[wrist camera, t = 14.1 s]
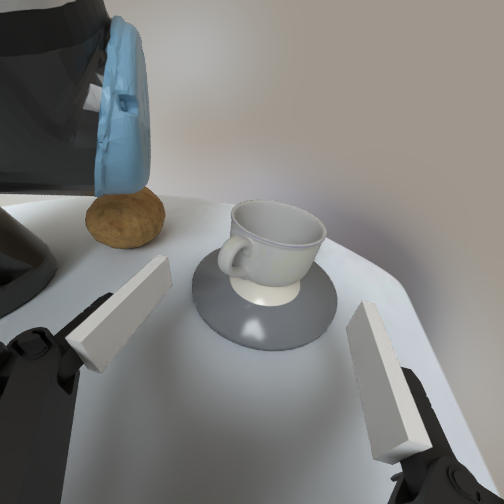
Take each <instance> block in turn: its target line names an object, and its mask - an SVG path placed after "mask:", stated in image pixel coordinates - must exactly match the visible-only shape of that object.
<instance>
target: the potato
mask: <svg viewBox="0 0 504 504" xmlns="http://www.w3.org/2000/svg"><path fill="white" fill-rule="evenodd" d="M164 219H165V210H164V206H163V203H162V202H161V201H160V199H159V198H158V197H157V196H156V195H155V194H154V193H153V192H152V191H151V190H149V189H148V188H147V187H144V188H143V189H142V190H140V191H138V192H137V193H133V194H116V195H104V196H102V197H98V198H97V199H96V200H95V201H94V202H93V204H92V205H91V206H90V208H89V209H88V210H87V212H86V219H85V224H86V227H87V229H88V230H89V232H90V233H91V234H92V236H93V237H94V238H95V239H96V241H98V242H101V243H103V244H105V245H108V246H110V247H112V248H120V249H127V248H134V247H140V246H142V245H143V244H145V243H147V242H149V241H150V240H152V239H153V238H155V237H156V236H157V235H158V234H159V232H160V231H161V229H162V226H163V223H164Z"/></svg>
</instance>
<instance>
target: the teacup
mask: <svg viewBox="0 0 504 504" xmlns="http://www.w3.org/2000/svg"><path fill="white" fill-rule="evenodd" d="M231 219H232V222H231V231H230V238H229V239H228V240H227V241H226V242H225V243H224V244H223V246H222V248H221V250H220V252H219V255H218V266H219V268H220V269H221V271H222V272H224V273H225V274H226V275H228V276H230V277H234V278H241V279H243V280H246V279H249V280H250V281H252V282H254V283H256V284H259V285H262V286H267V287H284V286H289V285H292V284H294V283H296V282H298V281H299V280H301V279H302V278H303V277H304V276H305V275H306V273H307V272H308V270H309V269H310V267H311V265H312V263H313V261H314V259H315V257H316V255H317V252H318V250H319V248H320V246H321V243H322V242H323V241H324V240H325V237H326V234H327V233H326V228H325V226H324V224H323V223H322V222H321V221H320V220H319V219H318V218H316V217H315V216H313V215H312V214H310V213H308V212H307V211H305V210H303V209H301V208H298V207H295V206H293V205H289V204H286V203H281V202H277V201H270V200H250V201H245V202H242V203H240V204H237V205H236V206H235V207H234V208H233V209H232V212H231ZM232 263H233V265H234V266H235V267H232Z"/></svg>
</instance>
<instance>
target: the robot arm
mask: <svg viewBox="0 0 504 504" xmlns="http://www.w3.org/2000/svg"><path fill="white" fill-rule="evenodd" d="M141 42H142V41H141V37H140V34H139V32H138V31H137V29H136V28H135V27H134V26H133V25H132V24H130V23H127V22H125V21H124V19H123V18H122V17H121V16H114V17H113V18H110V17H109V15H108V13H107V11H106V8H105V5H104V1H103V0H0V194H33V195H34V194H35V195H70V196H71V195H72V196H95V197H102V196H104V195H116V194H133V193H137V192H138V191H140V190H142V189H143V188H144V187H145V186H146V184H147V183H148V180H149V175H150V158H151V150H150V147H151V145H150V115H149V99H148V98H149V97H148V85H147V74H146V65H145V58H144V53H143V50H142V43H141ZM56 268H57V263H56V260H55V258H54V257H53V255H52V253H51V251H50V250H49V248H48V246H47V245H46V244H45V243H44V242H43V241H42V240H40V239H39V238H38V237H37V236H36V235H34V234H33V233H32V232H31V231H29V230H28V229H27V228H26V227H24V226H23V225H22V224H21V223H20V222H18V221H17V220H16V219H15V218H13V217H12V216H11V215H10V214H8V213H7V212H6V211H5V210H3V209H2V208H1V207H0V317H2V316H4V315H5V314H7V313H9V312H11V311H12V310H14V309H16V308H17V307H19V306H21V305H22V304H24V303H25V302H27V301H28V300H29V299H31V298H32V297H33V296H35V295H36V294H37V293H38V292H40V291H41V290H42V289H43V288H44V287H45V286H46V285H47V284H48V283H49V281H50V280H51V279H52V277H53V276H54V274H55V271H56ZM172 286H173V285H172V279H171V273H170V267H169V261H168V257H166V256H162V255H157V256H156V257H155V258H153V259H152V260H151V261H150V262H149V263H148V264H147V265H146V266H145V267H143V268H142V269H141V270H140V271H139V272H138V273H137V274H136V275H135V276H133V277H132V278H131V279H130V280H129V281H128V282H127V283H126V284H125V285H123V286H122V287H121V288H120V289H119V290H118V291H117V292H116V293H115V294H114V293H110V292H109V293H107V294H105V295H103V296H101V297H99V298H98V299H97V300H96V301H94V302H93V303H92V304H91V305H90V307H87V308H86V309H85V310H84V311H83V313H80V314H79V315H78V316H77V317H76V318H74V319H73V320H72V321H71V322H70V323H69V324H67V325H66V326H65V327H64V328H63V329H62V330H60V331H59V332H58V333H57V334H56V335H54V336H53V335H52V333H51V332H50V331H49V330H48V329H47V328H44V327H37V328H32V329H29V330H27V331H24V332H23V333H21V334H19V335H17V336H16V337H15V338H13V339H12V340H11V341H10V342H9V344H8V345H7V346H6V345H4V344H3V343H2V342H0V504H60V503H61V496H62V490H63V483H64V476H65V469H66V463H67V456H68V449H69V443H70V436H71V429H72V423H73V416H74V409H75V402H76V396H77V389H78V382H79V376H80V371H79V368H80V367H81V366H82V365H83V364H84V365H85V366H86V367H87V369H88V370H91V371H95V372H98V373H102V372H103V371H104V370H105V368H106V367H107V366H108V365H109V363H110V362H111V361H112V360H113V358H114V357H115V356H116V355H117V354H118V352H119V351H120V350H121V349H122V347H123V346H124V345H125V344H126V342H127V341H128V340H129V339H130V337H131V336H132V335H133V334H134V333H135V331H136V330H137V329H138V328H139V326H140V325H141V324H142V323H143V321H144V320H145V319H146V318H147V316H148V315H149V314H150V313H151V311H152V310H153V309H154V308H155V307H156V305H157V304H158V303H159V302H160V300H161V299H162V298H163V297H164V295H165V294H166V293H167V292H168V290H169V289H170V288H171V287H172ZM346 331H347V336H348V341H349V345H350V350H351V355H352V360H353V364H354V369H355V374H356V379H357V383H358V388H359V393H360V398H361V402H362V407H363V412H364V417H365V421H366V426H367V431H368V436H369V440H370V445H371V450H372V455H373V459H375V460H378V461H381V462H385V463H388V464H391V465H393V464H396V463H398V462H400V463H401V467H402V470H403V472H400V473H398V474H395V475H393V476H392V477H391V478H390V479H391V480H392V481H393V482H394V481H397V483H396V485H395V487H394V490H393V492H392V494H391V497H390V499H389V501H388V504H504V500H503V499H502V498H500V497H498V496H497V495H495V494H494V493H492V492H491V491H489V490H488V489H486V488H484V487H483V486H482V485H480V484H479V483H478V482H477V480H476V479H475V477H474V476H473V475H472V474H471V473H470V471H469V470H468V469H467V468H466V467H465V466H464V465H462V464H461V463H460V462H458V460H457V459H456V457H455V455H454V453H453V452H452V449H451V447H450V445H449V443H448V441H447V439H446V436H445V434H444V432H443V430H442V428H441V425H440V423H439V421H438V419H437V417H436V414H435V412H434V410H433V409H432V408H431V403H430V401H429V399H428V397H426V393H425V390H424V388H423V386H422V384H421V382H420V380H419V379H418V378H417V376H416V375H415V374H414V373H413V371H412V370H411V369H408V368H404V367H400V364H399V362H398V360H397V357H396V355H395V352H394V350H393V347H392V345H391V342H390V340H389V337H388V335H387V332H386V330H385V327H384V325H383V322H382V320H381V317H380V315H379V312H378V310H377V307H376V305H375V303H372V302H367V301H363V300H362V301H361V303H360V305H359V306H358V308H357V310H356V311H355V313H354V315H353V316H352V318H351V320H350V321H349V323H348V325H347V326H346Z"/></svg>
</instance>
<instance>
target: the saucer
mask: <svg viewBox="0 0 504 504" xmlns="http://www.w3.org/2000/svg"><path fill="white" fill-rule="evenodd" d="M221 248H222V247H221ZM221 248H219V249H217V250H215V251H213V252H212V253H210V254H209V255H207V256H206V257H205V258H204V259H203V260H202V261H201V262H200V264H199V265H198V266H197V268H196V270H195V272H194V276H193V280H192V291H193V299H194V303H195V306H196V308H197V310H198V312H199V314H200V316H201V317H202V318H203V319H204V321H205V322H206V323H207V324H208V325H209V326H210V327H211V328H212V329H213V330H214V331H216V332H217V333H218V334H220V335H221V336H223V337H224V338H226V339H228V340H230V341H232V342H234V343H237V344H239V345H242V346H244V347H248V348H252V349H256V350H264V351H284V350H291V349H295V348H299V347H302V346H305V345H307V344H309V343H311V342H313V341H314V340H316V339H317V338H319V337H320V336H321V335H322V334H323V333H324V332H325V331H326V330H327V328H328V327H329V325H330V324H331V322H332V320H333V318H334V315H335V313H336V309H337V294H336V290H335V288H334V285H333V283H332V281H331V279H330V278H329V276H328V275H327V274H326V272H325V271H324V270H323V269H322V268H321V267H320V266H319V265H318V264H316V263H315V262H314V261H313V263H312V265H311V267H310V269H309V270H308V272H307V273H306V275H305V276H304V277H303V278H302V279H301V280H299V281H298V282H296V283H294V284H292V285H289V286H284V287H267V286H262V285H259V284H256V283H254V282H252V281H250V280H249V279H246V280H243V279H241V278H234V277H230V276H228V275H226V274H225V273H224V272H222V271H221V269H220V268H219V266H218V255H219V252H220V250H221ZM232 267H235V266H234V265H233V263H232Z"/></svg>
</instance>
